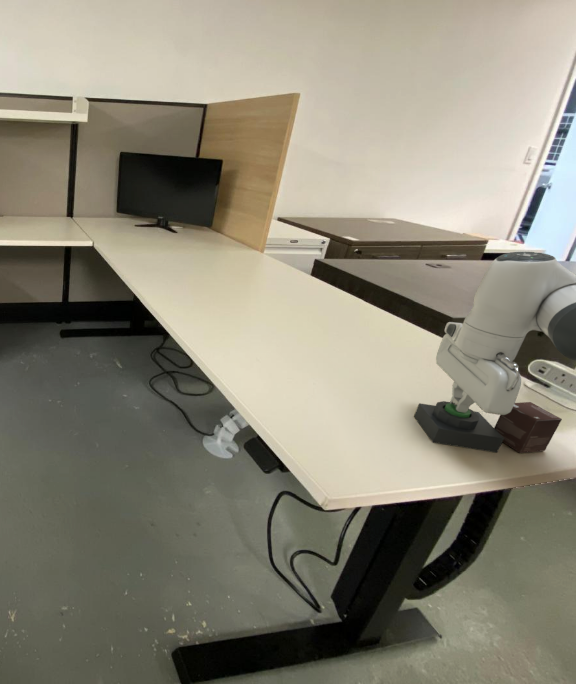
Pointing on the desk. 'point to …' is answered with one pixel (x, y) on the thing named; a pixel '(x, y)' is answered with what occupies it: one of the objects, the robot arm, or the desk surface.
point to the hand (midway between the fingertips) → (457, 408)
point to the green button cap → (453, 411)
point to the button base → (457, 428)
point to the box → (527, 427)
